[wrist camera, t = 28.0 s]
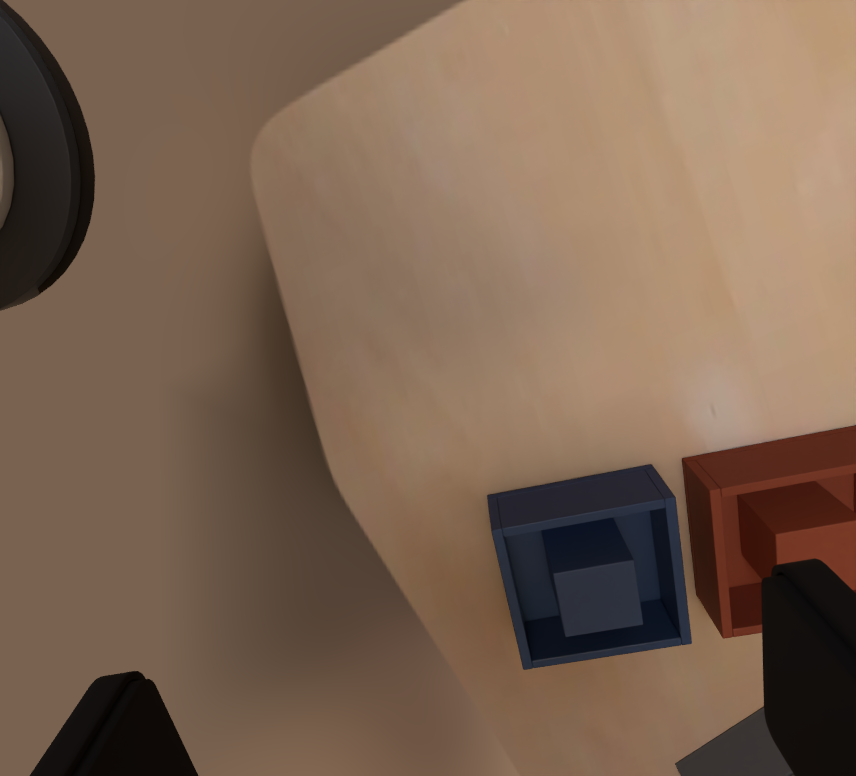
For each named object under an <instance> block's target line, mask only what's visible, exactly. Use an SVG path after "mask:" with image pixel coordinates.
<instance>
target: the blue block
mask: <svg viewBox="0 0 856 776" xmlns="http://www.w3.org/2000/svg"><path fill="white" fill-rule="evenodd" d="M541 532H542V537H543V542H544V547H545V552H546V557H547V562H548V567H549V572H550V577H551V583H552V587H553V591H554V595H555V599H556V603H557V607H558V611H559V615H560V618H561V622H562V626H563V630H564V634H565V636H566V637H569V636H575V635H581V634H588V633H594V632H600V631H606V630H612V629H619V628H625V627H631V626H637V625H642V624H643V618H642V611H641V604H640V597H639V590H638V583H637V576H636V569H635V562H634V559H633V557H632V555H631V553H630V551H629V549H628V547H627V545H626V543H625V541H624V539H623V537H622V535H621V533H620V531H619V528H618V526H617V524H616V522H615V520H614V518H607V519H601V520H596V521H590V522H585V523H579V524H574V525H568V526H563V527H557V528H552V529H546V530H541Z"/></svg>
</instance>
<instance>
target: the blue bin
mask: <svg viewBox="0 0 856 776" xmlns="http://www.w3.org/2000/svg"><path fill="white" fill-rule="evenodd" d="M487 499H488V507H489V515H490V523H491V531H492V535H493V540H494V544H495V548H496V553H497V557H498V561H499V566H500V570H501V574H502V579H503V583H504V587H505V592H506V596H507V600H508V605H509V609H510V613H511V618H512V622H513V626H514V631H515V635H516V639H517V644H518V648H519V652H520V657H521V661H522V665H523V669H524V670H526V669H532V668H538V667H545V666H551V665H557V664H564V663H570V662H577V661H583V660H589V659H596V658H602V657H609V656H615V655H621V654H628V653H634V652H640V651H647V650H653V649H660V648H666V647H672V646H679V645H681V644H682V645H686V644H692V641H691V632H690V623H689V614H688V605H687V596H686V587H685V578H684V570H683V561H682V552H681V543H680V534H679V525H678V516H677V507H676V498H675V496H674V495H673V493H672V492H671V490H670V489H669V488H668V486H667V485H666V484H665V482H664V481H663V479H662V478H661V477H660V475H659V474H658V473H657V471H656V470H655V468H654V467H653V466H652V465H651V464H650V465H645V466H640V467H635V468H629V469H624V470H619V471H613V472H608V473H603V474H598V475H592V476H587V477H582V478H577V479H571V480H566V481H561V482H555V483H550V484H545V485H540V486H534V487H529V488H524V489H518V490H513V491H508V492H503V493H497V494H492V495H488V496H487ZM607 518H614V520H615V522H616V524H617V526H618V528H619V531H620V533H621V535H622V537H623V539H624V541H625V543H626V545H627V547H628V549H629V551H630V553H631V555H632V557H633V559H634V562H635V569H636V576H637V583H638V590H639V597H640V604H641V611H642V618H643V624H642V625H637V626H631V627H625V628H619V629H612V630H606V631H600V632H594V633H588V634H581V635H575V636H569V637H566V636H565V634H564V630H563V626H562V622H561V618H560V615H559V611H558V607H557V603H556V599H555V595H554V591H553V587H552V583H551V577H550V572H549V567H548V562H547V557H546V552H545V547H544V542H543V537H542V532H541V530H546V529H552V528H557V527H563V526H568V525H574V524H579V523H585V522H590V521H596V520H601V519H607Z"/></svg>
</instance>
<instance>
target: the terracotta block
mask: <svg viewBox="0 0 856 776" xmlns="http://www.w3.org/2000/svg"><path fill="white" fill-rule="evenodd" d="M738 509H739V523H740V536H741V550H742V555H743V557H744V558H745V559H746V560H747V562H748V563H749V564H750V565H751V567H752V568H753V569H754V570H755V572H756V573H757V574H758V576H759V577H760V578H761V579H762V580H763V578H765V577H771V572H772V568H773V566H775V565H778V564H784V563H790V562H796V561H802V560H808V559H814V558H816V559H819V560H821V561H823V562H824V563H825V564H826V565H827V566H828V567H829V568H830V569H832V570H833V571H834V572H835V573H836V574H837V575H838V576H839V577H840V578H841V579H842V580H843V581H844V582H845V583H846V584H847V585H848V586H849V587H850V588H851V589H852V590H856V513H854V512H853V511H852V510H851V509H849V508H848V507H847V506H846V505H844V504H843V503H842V502H841V501H839V500H838V499H837V498H836V497H835V496H833V495H832V494H831V493H830V492H828V491H827V490H826V489H825V488H823V487H822V486H821V485H820V484H818V483H817V482H816V481H811V482H805V483H799V484H794V485H788V486H783V487H777V488H772V489H766V490H761V491H755V492H750V493H744V494H739V495H738Z"/></svg>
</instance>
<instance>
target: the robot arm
mask: <svg viewBox="0 0 856 776" xmlns="http://www.w3.org/2000/svg"><path fill="white" fill-rule="evenodd" d="M13 188H14V163H13V156H12V151H11V146H10V141H9V136H8V133H7V130H6V128H5V125H4V123H3V120H2V117H1V115H0V229H1V228H2V227H3V225H4V222H5V219H6V217H7V214H8V212H9V209H10V207H11V201H12V195H13ZM761 598H762V639H763V681H764V714H765V720H766V724H767V727H768V729H769V732H770V734H771V737H772V739H773V740H774V742H775V744H776V746H777V747H778V749H779V751H780V752H781V754H782V756H783V757H784V759H785V761H786V762H787V764H788V765H789V767H790V769H791V770H792V772H793V774H794V775H795V776H856V593H855V592H854V591H853V590H852V589H851V588H850V587H849V586H848V585H847V584H846V583H845V582H844V581H843V580H842V579H841V578H840V577H839V576H838V575H837V574H836V573H835V572H834V571H833V570H832V569H830V568H829V567H828V566H827V565H826V564H825V563H824V562H823V561H821V560H819V559H816V558H814V559H808V560H802V561H796V562H790V563H784V564H778V565H775V566H773V568H772V572H771V577H765V578H763V580H762V583H761ZM30 776H198V774H197V772H196V770H195V768H194V766H193V764H192V761H191V759H190V757H189V755H188V753H187V751H186V749H185V747H184V745H183V743H182V740H181V738H180V737H179V734H178V732H177V730H176V728H175V726H174V723H173V721H172V719H171V717H170V715H169V713H168V711H167V709H166V707H165V705H164V702H163V701H162V698H161V696H160V694H159V692H158V690H157V688H156V685H155V684H154V682H153V681H151V680H150V679H145V677H144V676H143V674H142V673H140V672H138V671H132V672H126V673H120V674H114V675H108V676H103V677H100V678H98V679H96V680H95V681H94V682H93V683H92V684H91V686H90V687H89V688H88V690H87V691H86V693H85V694H84V696H83V697H82V699H81V700H80V702H79V703H78V705H77V706H76V708H75V709H74V711H73V712H72V714H71V715H70V717H69V718H68V720H67V721H66V723H65V724H64V725H63V727H62V728H61V730H60V732H59V733H58V734H57V736H56V737H55V739H54V740H53V742H52V743H51V745H50V746H49V748H48V749H47V751H46V752H45V754H44V755H43V757H42V758H41V760H40V761H39V763H38V764H37V766H36V767H35V769H34V770H33V772H32V773H31V775H30Z"/></svg>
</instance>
